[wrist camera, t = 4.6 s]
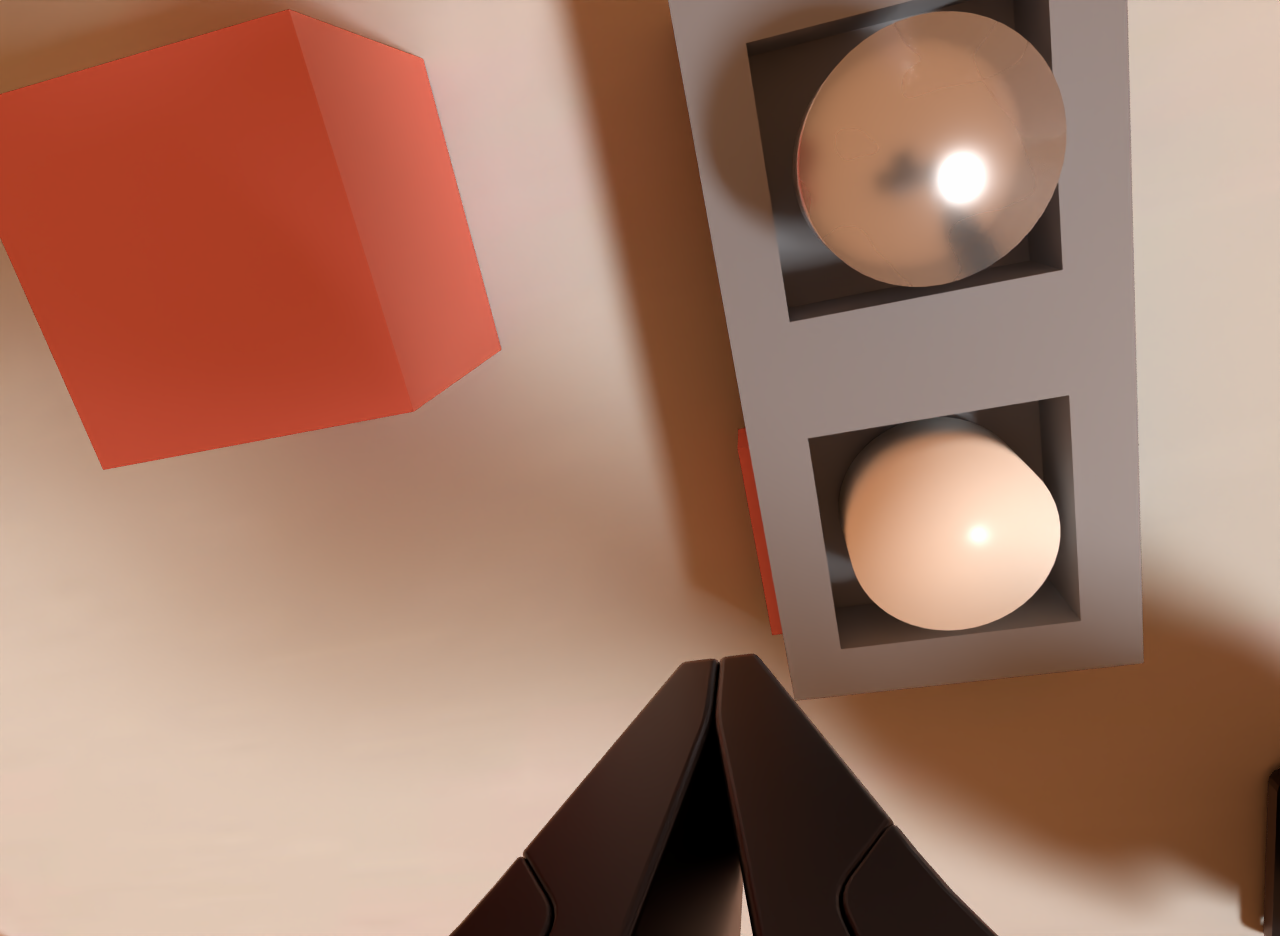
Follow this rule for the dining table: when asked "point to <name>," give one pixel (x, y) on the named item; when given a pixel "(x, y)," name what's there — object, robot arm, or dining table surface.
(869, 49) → the chrome round knob
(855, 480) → the cream switch
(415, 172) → the cap
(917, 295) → the switch box
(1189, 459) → the dining table surface
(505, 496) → the dining table surface
